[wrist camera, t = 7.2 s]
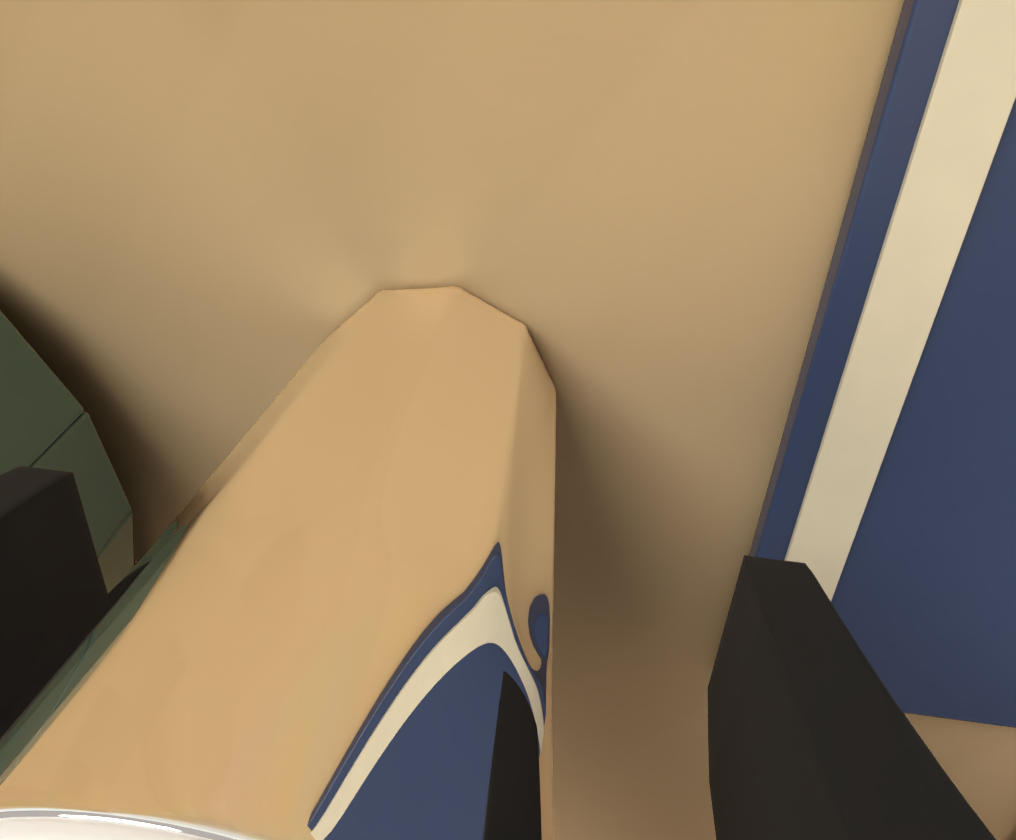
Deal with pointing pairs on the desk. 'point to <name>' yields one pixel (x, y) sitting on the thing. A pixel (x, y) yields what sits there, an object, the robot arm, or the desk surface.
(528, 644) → the milkshake
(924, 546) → the blue notebook
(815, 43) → the desk surface
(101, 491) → the bowl
